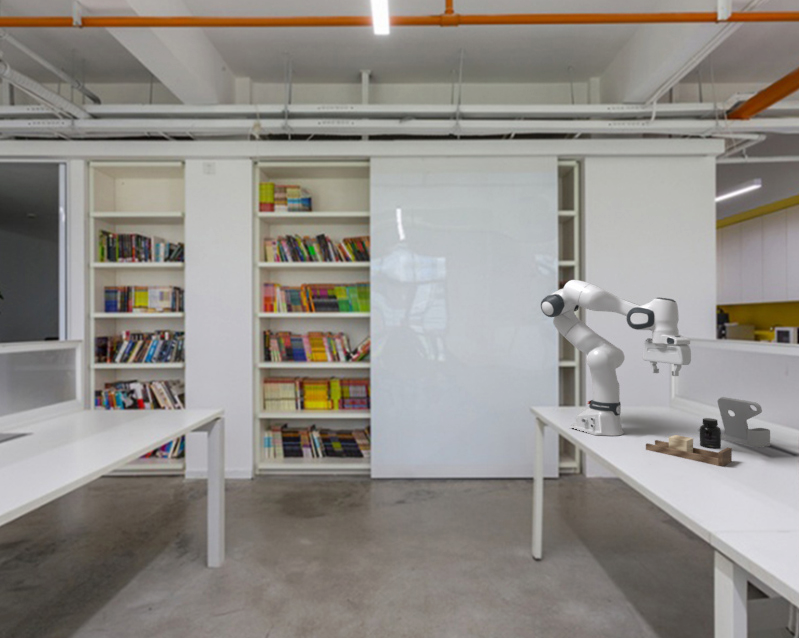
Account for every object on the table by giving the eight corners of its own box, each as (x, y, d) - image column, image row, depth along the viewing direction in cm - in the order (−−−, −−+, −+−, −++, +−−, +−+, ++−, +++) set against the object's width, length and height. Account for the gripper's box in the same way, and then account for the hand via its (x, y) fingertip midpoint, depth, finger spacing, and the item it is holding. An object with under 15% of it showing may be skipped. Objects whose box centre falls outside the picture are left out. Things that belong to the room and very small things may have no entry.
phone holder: (773, 445, 183) (774, 401, 183) (757, 448, 179) (757, 403, 179) (729, 435, 199) (729, 394, 199) (713, 437, 195) (713, 396, 195)
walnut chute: (645, 452, 173) (645, 437, 173) (656, 448, 178) (656, 433, 178) (722, 470, 153) (722, 452, 153) (731, 465, 158) (731, 448, 158)
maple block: (668, 453, 168) (668, 437, 168) (675, 450, 171) (675, 434, 171) (686, 457, 163) (686, 440, 163) (693, 454, 166) (693, 438, 166)
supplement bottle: (699, 446, 182) (699, 416, 181) (719, 448, 178) (719, 418, 178) (700, 450, 176) (700, 420, 176) (721, 453, 172) (721, 422, 172)
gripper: (638, 338, 185) (638, 371, 185) (680, 340, 165) (680, 377, 165) (651, 337, 186) (651, 371, 186) (694, 340, 166) (694, 377, 166)
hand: (665, 374), depth 175 cm, fingers open, 8 cm apart
